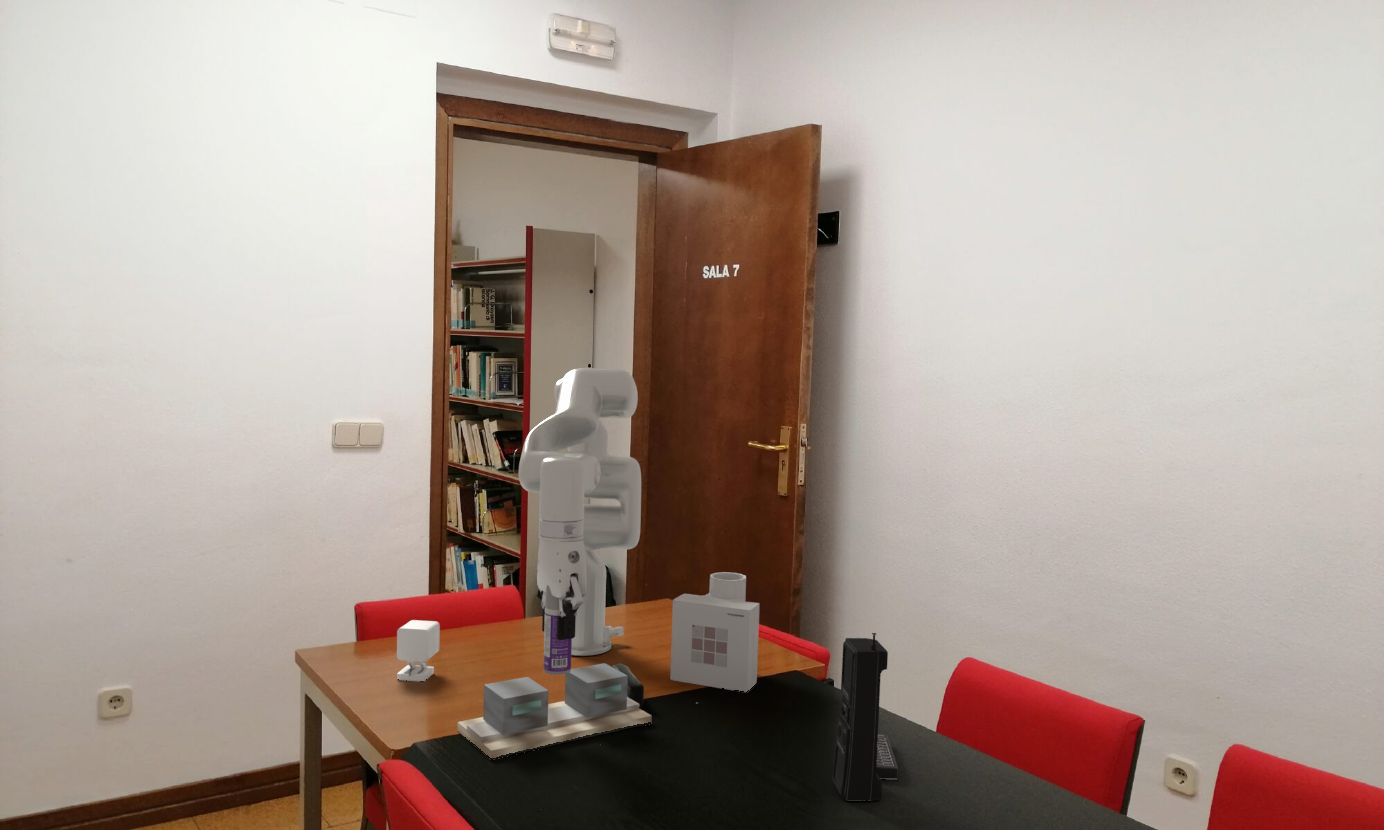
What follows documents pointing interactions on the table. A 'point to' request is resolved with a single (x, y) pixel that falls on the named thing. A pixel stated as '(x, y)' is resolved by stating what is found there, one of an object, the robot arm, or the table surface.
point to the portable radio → (859, 720)
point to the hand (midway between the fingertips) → (558, 633)
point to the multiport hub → (885, 758)
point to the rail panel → (552, 711)
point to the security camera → (417, 648)
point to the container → (555, 639)
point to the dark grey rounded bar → (632, 684)
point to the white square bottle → (716, 636)
